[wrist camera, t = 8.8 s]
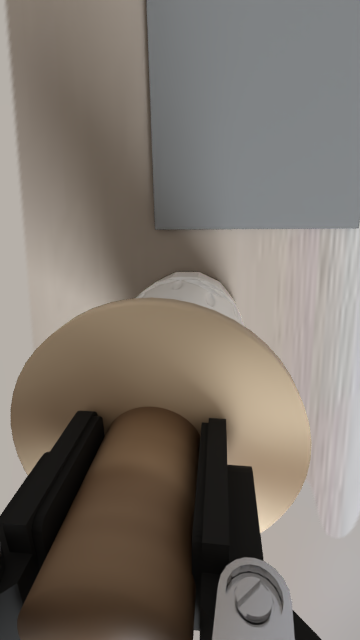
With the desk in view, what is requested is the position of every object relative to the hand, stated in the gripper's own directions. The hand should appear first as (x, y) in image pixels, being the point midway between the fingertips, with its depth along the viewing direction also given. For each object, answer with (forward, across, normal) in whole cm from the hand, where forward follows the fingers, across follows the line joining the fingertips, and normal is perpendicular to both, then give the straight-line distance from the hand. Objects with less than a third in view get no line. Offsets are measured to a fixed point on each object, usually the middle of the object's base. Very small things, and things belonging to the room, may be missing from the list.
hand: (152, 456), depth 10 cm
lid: (+1, 0, 0) cm, 1 cm away
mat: (+13, -4, -13) cm, 19 cm away
